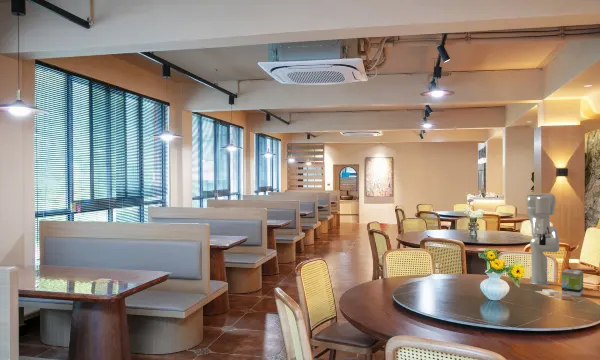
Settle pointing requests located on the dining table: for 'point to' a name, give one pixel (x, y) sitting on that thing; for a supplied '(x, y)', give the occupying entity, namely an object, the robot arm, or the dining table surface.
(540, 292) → the board
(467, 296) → the dining table surface
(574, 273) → the tea box
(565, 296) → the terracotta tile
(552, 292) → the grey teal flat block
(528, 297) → the dining table surface
